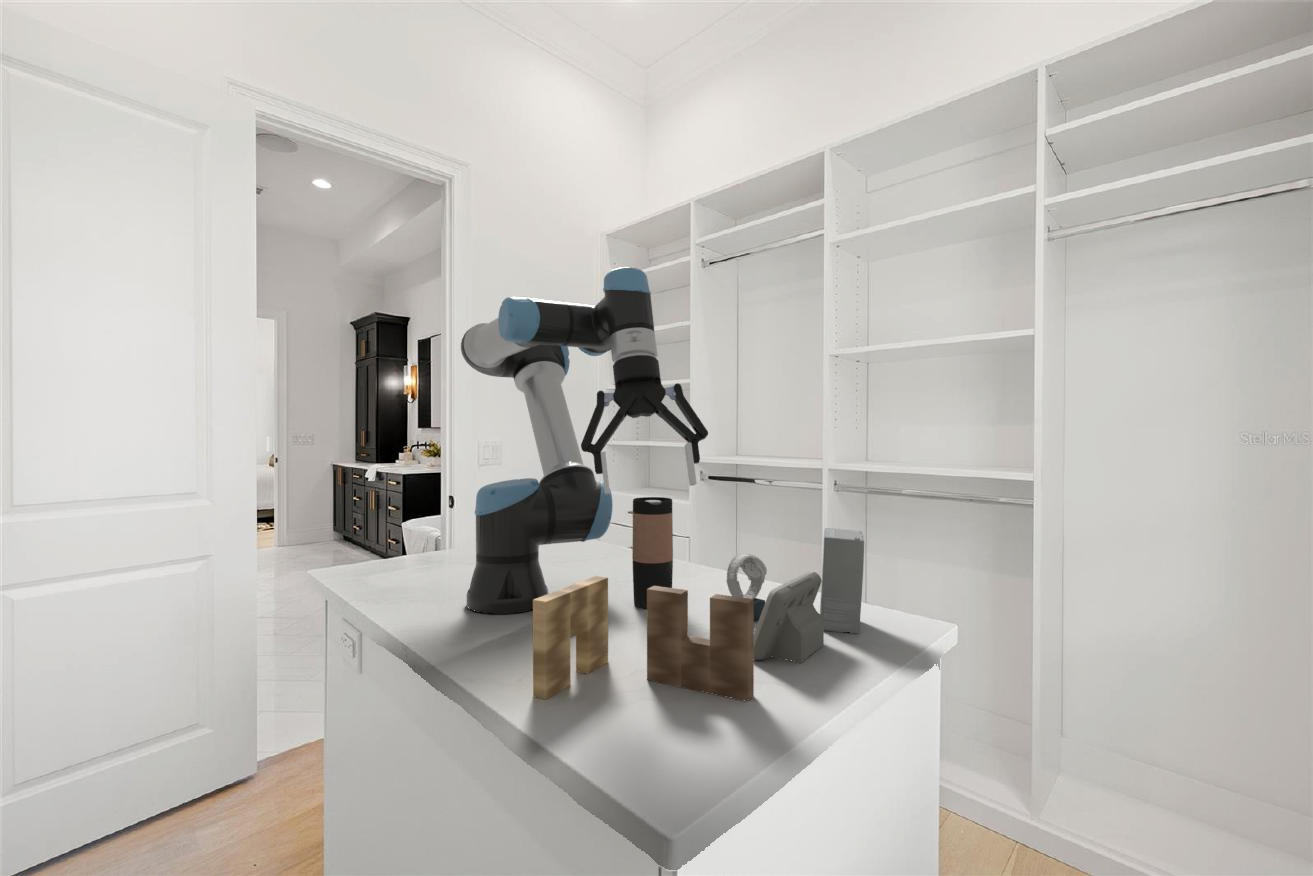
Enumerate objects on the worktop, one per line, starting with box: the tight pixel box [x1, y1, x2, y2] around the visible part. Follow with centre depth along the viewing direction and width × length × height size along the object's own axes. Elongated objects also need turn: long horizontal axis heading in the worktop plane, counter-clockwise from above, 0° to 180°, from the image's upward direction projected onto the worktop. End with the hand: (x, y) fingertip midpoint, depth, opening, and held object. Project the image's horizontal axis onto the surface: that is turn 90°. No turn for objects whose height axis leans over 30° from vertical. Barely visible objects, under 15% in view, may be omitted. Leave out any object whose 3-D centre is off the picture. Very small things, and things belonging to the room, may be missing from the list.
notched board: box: [532, 575, 609, 700], centre depth 81 cm, size 14×2×12 cm, turn 152°
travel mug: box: [631, 496, 674, 611], centre depth 115 cm, size 8×8×20 cm
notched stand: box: [646, 586, 755, 702], centre depth 78 cm, size 14×2×12 cm, turn 62°
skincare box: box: [819, 527, 865, 635], centre depth 103 cm, size 8×7×16 cm
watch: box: [725, 553, 768, 623], centre depth 108 cm, size 6×8×11 cm
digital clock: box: [754, 571, 825, 664], centre depth 92 cm, size 16×9×11 cm, turn 133°
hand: (650, 489), depth 96 cm, fingers open, 13 cm apart
